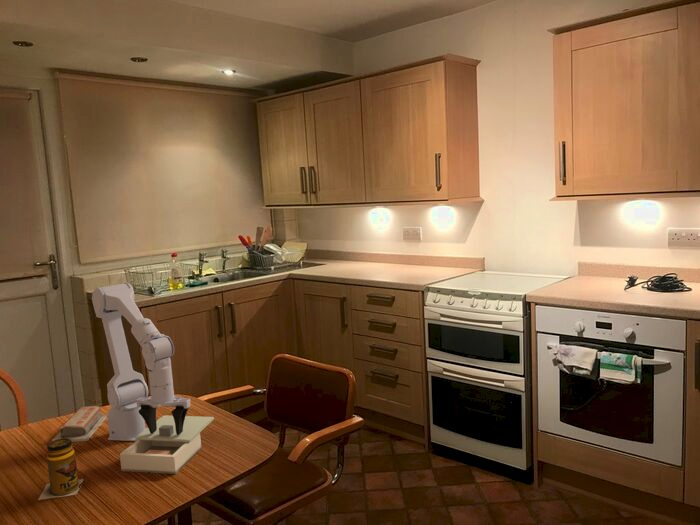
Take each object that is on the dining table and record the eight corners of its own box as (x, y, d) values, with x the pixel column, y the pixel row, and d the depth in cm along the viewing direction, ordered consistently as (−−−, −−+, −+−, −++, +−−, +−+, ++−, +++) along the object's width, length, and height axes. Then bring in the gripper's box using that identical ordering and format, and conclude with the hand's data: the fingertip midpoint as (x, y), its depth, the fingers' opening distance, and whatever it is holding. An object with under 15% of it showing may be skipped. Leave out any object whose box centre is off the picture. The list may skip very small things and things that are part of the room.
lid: (135, 439, 153) (134, 429, 152) (164, 417, 167) (163, 408, 166) (189, 441, 149) (188, 431, 149) (214, 419, 163) (213, 409, 163)
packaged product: (74, 405, 181) (106, 403, 182) (75, 420, 182) (108, 417, 183) (49, 429, 164) (86, 426, 164) (51, 445, 164) (88, 442, 165)
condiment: (77, 494, 135) (70, 446, 134) (37, 501, 134) (31, 452, 132) (83, 479, 143) (78, 433, 141) (46, 485, 141) (40, 438, 139)
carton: (121, 471, 146) (119, 454, 145) (151, 445, 159) (149, 430, 159) (175, 474, 143) (174, 456, 142) (201, 448, 156) (200, 432, 156)
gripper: (127, 388, 149) (133, 438, 151) (179, 389, 146) (184, 440, 148) (142, 378, 156) (148, 426, 158) (192, 379, 153) (197, 428, 154)
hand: (166, 432), depth 153 cm, fingers open, 7 cm apart
